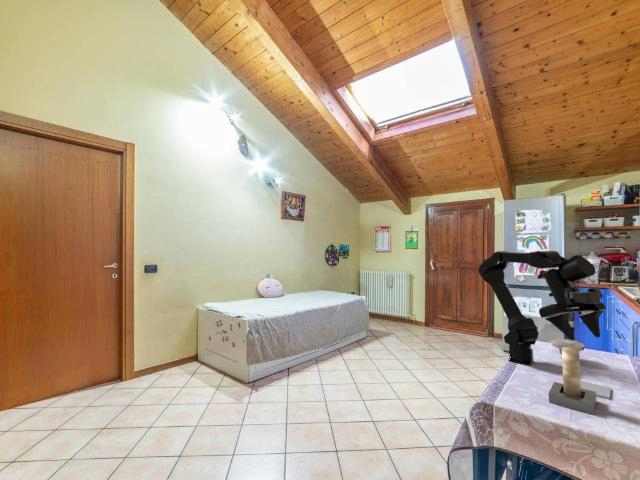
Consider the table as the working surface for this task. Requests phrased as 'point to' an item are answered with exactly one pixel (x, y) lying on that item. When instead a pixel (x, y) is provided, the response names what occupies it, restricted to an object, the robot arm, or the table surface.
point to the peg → (571, 372)
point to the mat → (597, 389)
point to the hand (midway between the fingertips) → (585, 338)
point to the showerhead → (566, 344)
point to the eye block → (573, 399)
